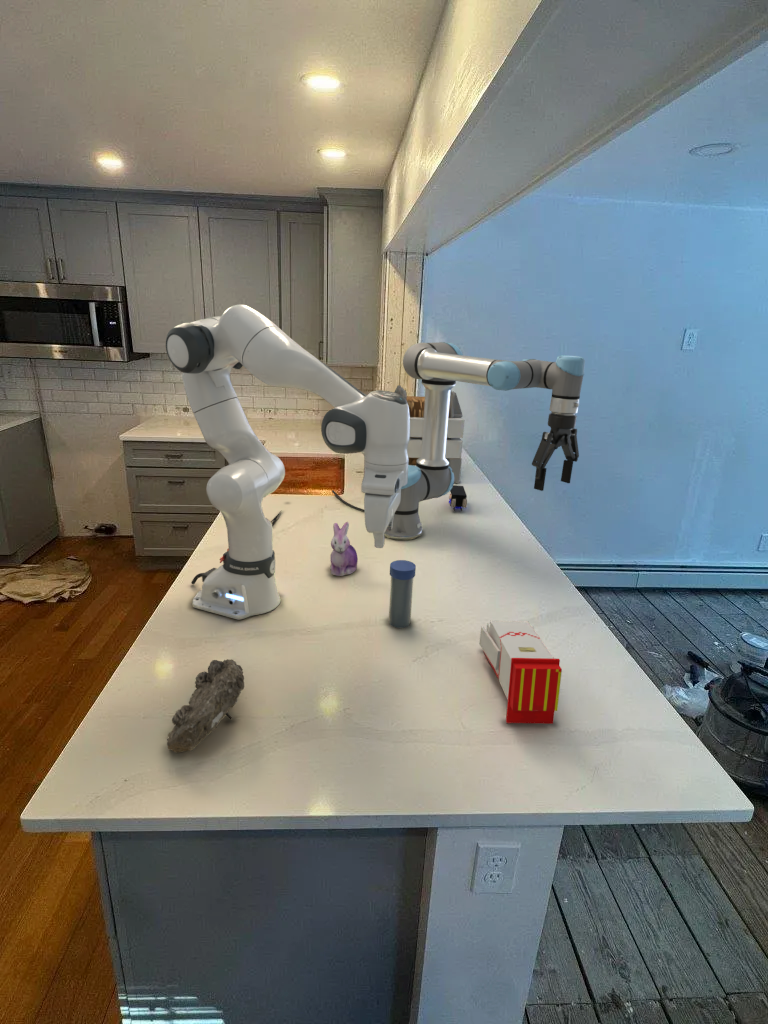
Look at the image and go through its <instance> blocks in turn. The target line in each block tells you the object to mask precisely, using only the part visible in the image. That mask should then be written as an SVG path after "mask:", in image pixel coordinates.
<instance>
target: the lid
mask: <svg viewBox="0 0 768 1024" xmlns="http://www.w3.org/2000/svg"><path fill="white" fill-rule="evenodd" d="M389 576H390V578H391V577H393V578H395V579H399V580H409V579H412V578H413V579H415V576H416V564H415V563H414V562H412V561H411V560H405V559H398V560H394V561H392V562H390V564H389Z"/></svg>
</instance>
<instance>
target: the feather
mask: <svg viewBox="0 0 768 1024" xmlns="http://www.w3.org/2000/svg"><path fill="white" fill-rule="evenodd" d="M281 512H282V510H280V512H279V513H277V514H276V516H275V517H273V519H272V520H271V521H270V522H271V524H272V527H274V525H275V523H276V521H277V520H278V518H279V516H280V514H281Z"/></svg>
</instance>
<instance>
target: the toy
mask: <svg viewBox="0 0 768 1024" xmlns="http://www.w3.org/2000/svg"><path fill="white" fill-rule="evenodd" d="M478 642H479V643H478V644H479V646H480V647H481V650H482V651H483V654H484V655H485V657H486V659H487V661H488V663H489V664H490V666H491V669H492V670H493V672H494V674H495V676H496V678H497V679H498V682H499V684H500V687H501V688H502V691H503V693H504V695H505V697H506V699H507V706H506V717H505V722H506V724H547V725H549V724H551V725H553V724H554V718H555V712H558V711H559V710H558V709H559V698H560V689H561V682H562V681H561V680H562V672H563V671H562V667H561V666H560V663H561V659H560V658H554V656H553V654H552V653H551V651H550V650H549V649H548V647H547V646H546V644H545V643H544V642H543V640H542V638H540V636H539V635H538V633H537V631H536V630H535V627H534V626H532V625H531V623H530V622H529V620H528V621H527V620H526V621H525V620H524V621H523V620H490V621H489V622H487V623H486V628H485V626H480V634H479V641H478Z"/></svg>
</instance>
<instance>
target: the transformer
mask: <svg viewBox="0 0 768 1024" xmlns="http://www.w3.org/2000/svg"><path fill="white" fill-rule="evenodd" d="M394 393H397V394H399V395H401V396H402V397H404V398H405V399H406V401H407V403H408V406H409V414H410V439H409V443H408V446H407V454H408V458H409V461H408V465H413V466H416V461H417V459H418V458H420V457H421V449H422V434H423V419H424V404H425V396H415V395H414V396H413V395H412V396H411V395H407V394H408V393H407V390H406V389H404V388H403V387H402V385H399V384H398V385H397V386H396V388H395V390H394ZM464 429H465V419H464V418H463V411H462V408H461V405H460V402H459V398H458V395H457V392H455V391H453V390H451V392H450V404H449V416H448V428H447V441H446V453H445V458H446V459H447V461H448V462H449V466H450V467H451V469H452V473H454V484H455V483H456V484H459V483H461V472H462V461H463V460H462V453H463V442H464V441H463V440H462V439H463V438H464V431H465V430H464Z"/></svg>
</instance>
